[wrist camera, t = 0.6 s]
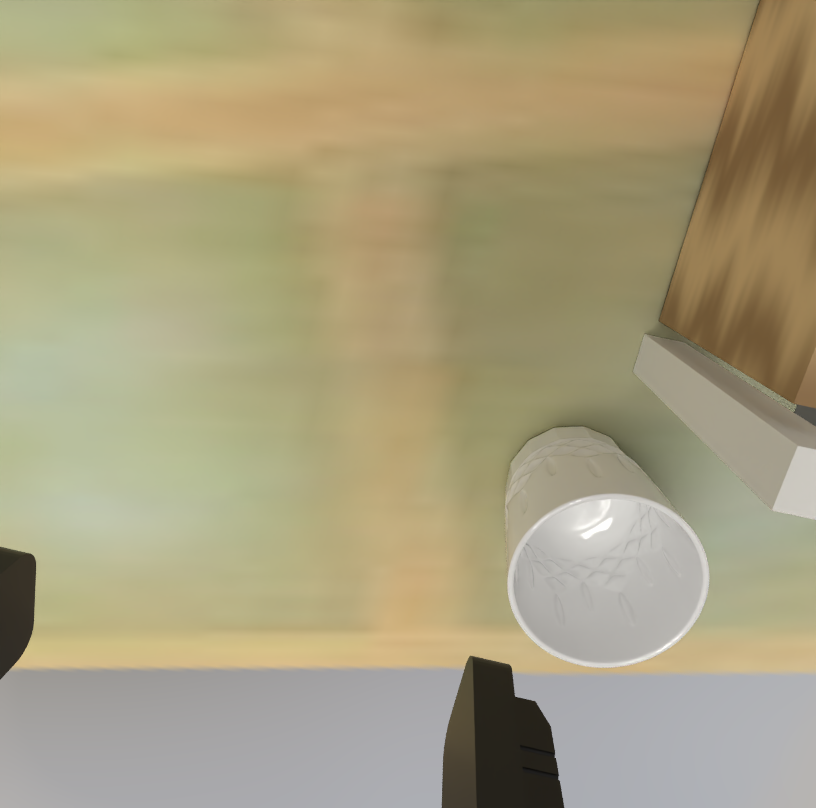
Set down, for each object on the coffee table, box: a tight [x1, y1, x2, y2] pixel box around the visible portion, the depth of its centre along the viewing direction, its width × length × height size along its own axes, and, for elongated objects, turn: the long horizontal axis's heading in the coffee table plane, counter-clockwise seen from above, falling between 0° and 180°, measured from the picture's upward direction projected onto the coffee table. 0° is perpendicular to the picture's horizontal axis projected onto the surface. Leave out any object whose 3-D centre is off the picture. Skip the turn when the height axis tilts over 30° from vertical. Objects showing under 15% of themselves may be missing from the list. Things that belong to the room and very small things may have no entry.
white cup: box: [505, 426, 709, 668], centre depth 32 cm, size 8×8×10 cm
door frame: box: [633, 334, 816, 520], centre depth 24 cm, size 21×2×16 cm, turn 168°
